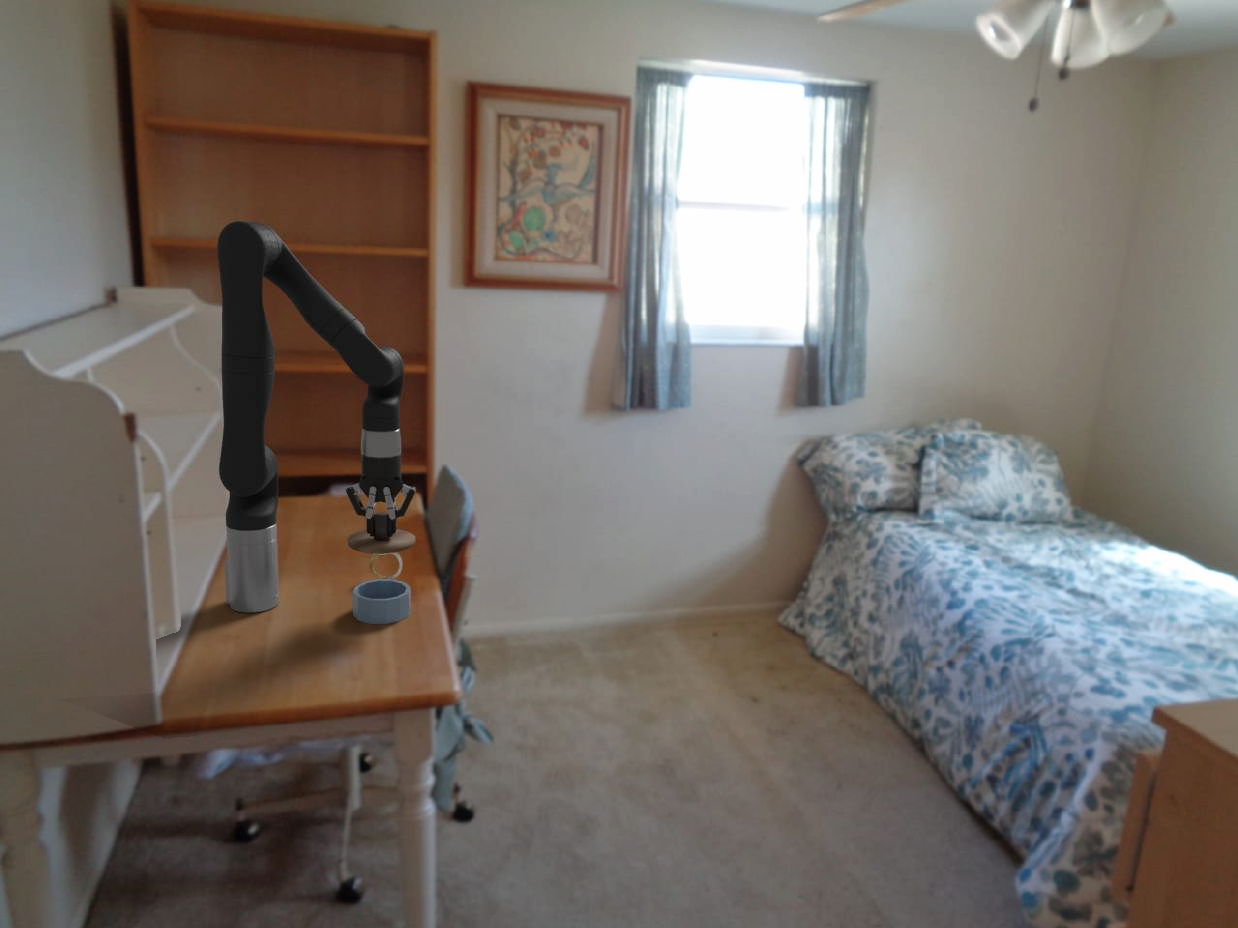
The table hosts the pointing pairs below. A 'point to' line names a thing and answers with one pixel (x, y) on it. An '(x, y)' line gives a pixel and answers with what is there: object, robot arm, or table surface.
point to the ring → (386, 576)
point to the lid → (381, 538)
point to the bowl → (381, 601)
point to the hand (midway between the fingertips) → (381, 535)
